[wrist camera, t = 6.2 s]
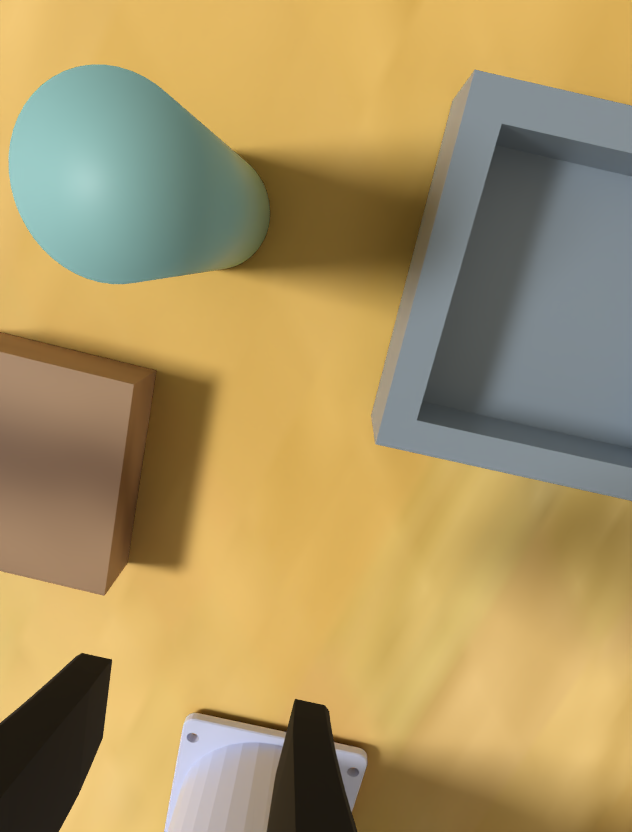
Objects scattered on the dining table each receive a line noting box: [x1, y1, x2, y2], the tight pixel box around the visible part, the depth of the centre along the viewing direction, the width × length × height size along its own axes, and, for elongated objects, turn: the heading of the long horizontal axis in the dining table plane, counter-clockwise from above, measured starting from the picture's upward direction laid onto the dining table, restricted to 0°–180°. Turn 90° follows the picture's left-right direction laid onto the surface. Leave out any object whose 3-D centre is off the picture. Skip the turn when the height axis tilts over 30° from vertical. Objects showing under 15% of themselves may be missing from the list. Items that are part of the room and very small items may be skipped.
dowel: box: [9, 65, 270, 284], centre depth 13 cm, size 4×4×8 cm
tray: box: [371, 70, 632, 501], centre depth 16 cm, size 10×10×3 cm
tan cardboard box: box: [0, 332, 156, 595], centre depth 19 cm, size 8×6×2 cm
